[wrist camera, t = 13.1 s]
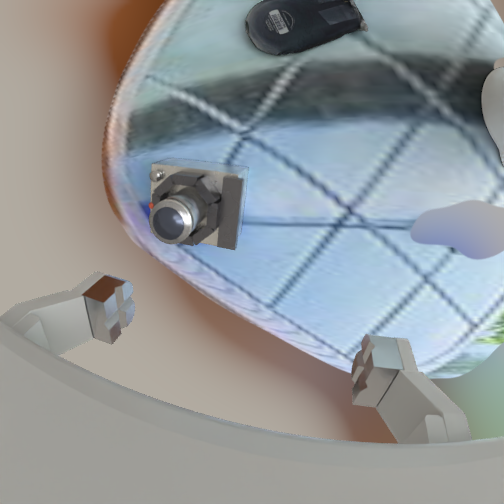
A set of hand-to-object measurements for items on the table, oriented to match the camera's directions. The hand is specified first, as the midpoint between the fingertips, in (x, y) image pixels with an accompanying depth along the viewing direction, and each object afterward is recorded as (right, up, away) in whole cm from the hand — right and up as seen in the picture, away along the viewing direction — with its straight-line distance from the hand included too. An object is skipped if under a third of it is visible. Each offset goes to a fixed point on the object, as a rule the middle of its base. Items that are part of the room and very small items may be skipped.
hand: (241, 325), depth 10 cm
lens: (-8, +8, +29) cm, 31 cm away
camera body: (-6, +11, +35) cm, 37 cm away
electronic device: (+7, +34, +22) cm, 41 cm away
